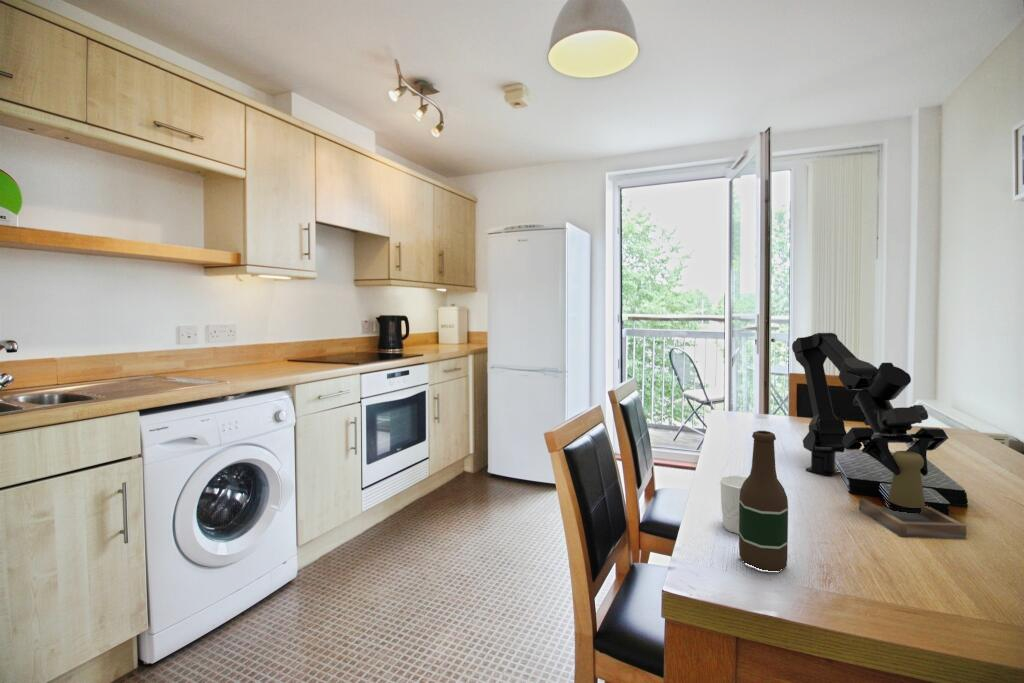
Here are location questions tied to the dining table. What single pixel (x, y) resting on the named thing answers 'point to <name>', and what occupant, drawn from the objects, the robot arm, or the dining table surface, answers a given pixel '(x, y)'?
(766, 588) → the dining table surface
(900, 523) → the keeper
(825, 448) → the robot arm
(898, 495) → the cork
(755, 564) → the beer bottle
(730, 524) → the white cup
